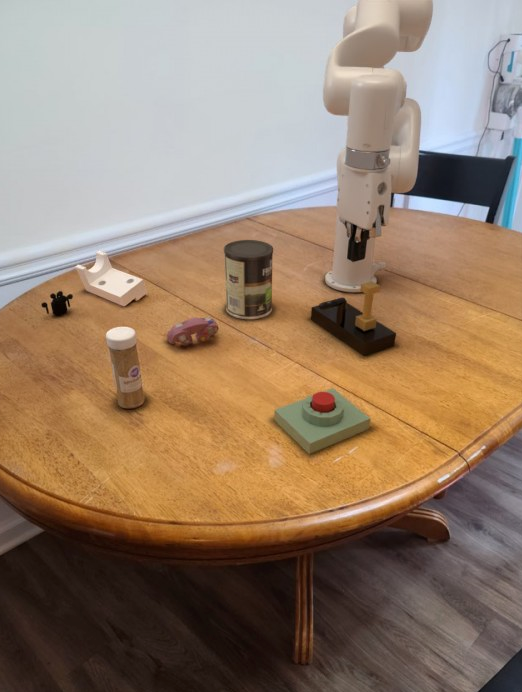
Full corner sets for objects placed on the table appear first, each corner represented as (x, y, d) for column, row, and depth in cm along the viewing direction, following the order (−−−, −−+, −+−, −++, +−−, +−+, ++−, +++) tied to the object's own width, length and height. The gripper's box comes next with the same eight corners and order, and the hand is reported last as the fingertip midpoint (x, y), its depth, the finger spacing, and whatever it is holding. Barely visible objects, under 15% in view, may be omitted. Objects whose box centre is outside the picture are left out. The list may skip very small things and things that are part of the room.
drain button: (325, 397, 92) (325, 389, 91) (338, 409, 90) (339, 400, 89) (307, 404, 91) (307, 395, 90) (320, 416, 88) (321, 407, 87)
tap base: (339, 311, 126) (343, 274, 121) (394, 346, 114) (400, 307, 109) (291, 325, 120) (293, 287, 115) (344, 363, 108) (348, 323, 103)
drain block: (332, 398, 99) (333, 379, 96) (369, 429, 92) (372, 409, 90) (274, 420, 93) (274, 400, 91) (309, 454, 86) (310, 434, 84)
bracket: (88, 294, 132) (75, 266, 126) (110, 277, 135) (98, 250, 130) (125, 309, 126) (113, 282, 120) (147, 292, 129) (137, 264, 124)
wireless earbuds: (73, 307, 124) (69, 286, 121) (79, 311, 122) (75, 290, 120) (43, 317, 120) (38, 295, 117) (49, 321, 118) (44, 299, 115)
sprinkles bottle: (135, 412, 94) (124, 341, 86) (112, 405, 95) (99, 335, 87) (150, 397, 97) (141, 328, 89) (127, 391, 98) (116, 323, 91)
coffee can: (276, 301, 129) (277, 241, 121) (266, 322, 121) (267, 259, 112) (233, 296, 130) (231, 237, 122) (220, 316, 122) (217, 254, 114)
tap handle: (366, 321, 115) (371, 280, 110) (375, 327, 113) (381, 286, 108) (354, 325, 114) (359, 283, 109) (364, 331, 112) (369, 289, 107)
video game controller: (171, 355, 111) (174, 335, 106) (164, 337, 113) (166, 316, 107) (218, 345, 115) (223, 324, 109) (210, 327, 117) (214, 306, 111)
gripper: (413, 165, 94) (397, 269, 105) (355, 146, 103) (346, 242, 114) (379, 171, 90) (366, 278, 101) (323, 151, 100) (316, 250, 111)
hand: (355, 259), depth 108 cm, fingers closed
